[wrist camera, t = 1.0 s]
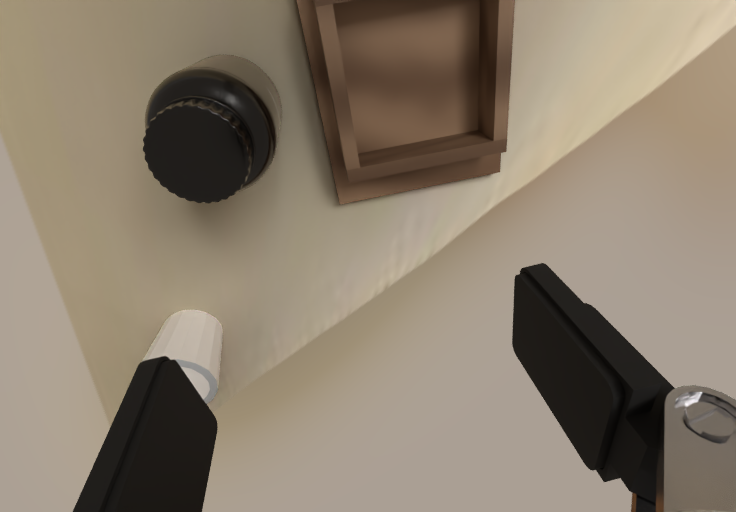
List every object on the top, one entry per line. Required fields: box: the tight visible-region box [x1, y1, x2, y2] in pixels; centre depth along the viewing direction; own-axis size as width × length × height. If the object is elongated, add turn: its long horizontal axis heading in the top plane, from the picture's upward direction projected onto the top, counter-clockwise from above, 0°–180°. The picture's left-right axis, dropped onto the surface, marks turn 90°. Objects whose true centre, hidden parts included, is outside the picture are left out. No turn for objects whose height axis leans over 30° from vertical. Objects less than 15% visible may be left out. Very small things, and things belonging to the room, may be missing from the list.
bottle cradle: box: [297, 0, 515, 204], centre depth 27 cm, size 18×14×4 cm
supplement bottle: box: [143, 55, 282, 203], centre depth 23 cm, size 7×7×12 cm
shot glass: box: [142, 310, 223, 404], centre depth 36 cm, size 7×7×7 cm
